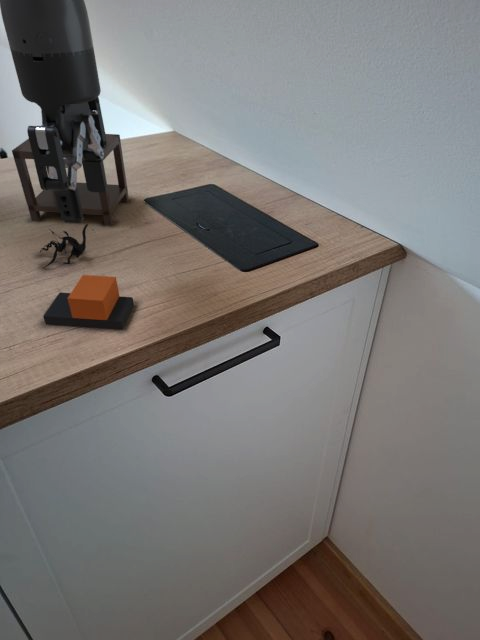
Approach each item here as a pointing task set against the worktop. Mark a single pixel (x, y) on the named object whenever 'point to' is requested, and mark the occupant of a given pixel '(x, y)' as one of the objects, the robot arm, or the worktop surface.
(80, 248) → the creature
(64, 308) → the orange cube on base
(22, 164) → the rack
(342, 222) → the worktop surface
